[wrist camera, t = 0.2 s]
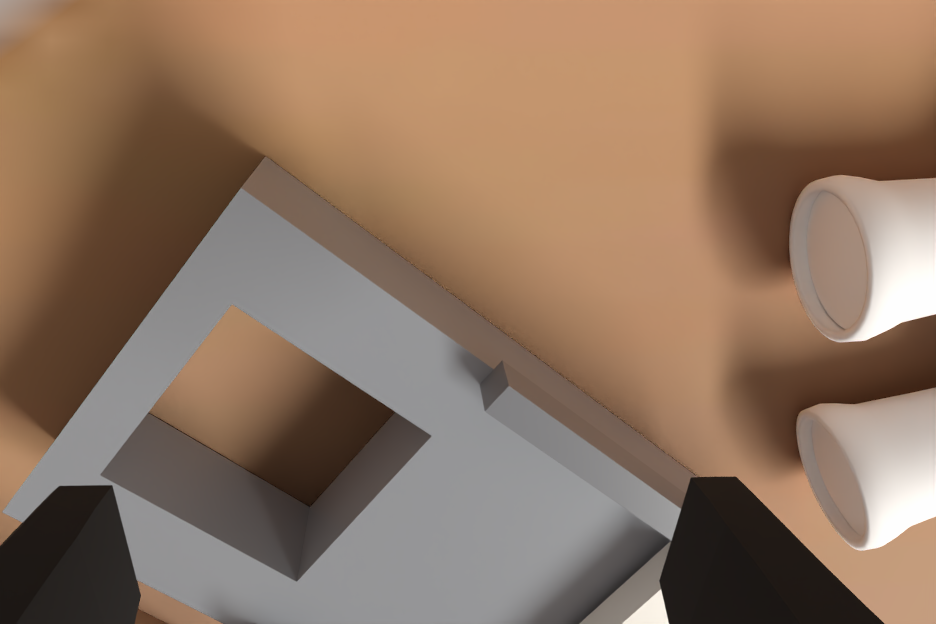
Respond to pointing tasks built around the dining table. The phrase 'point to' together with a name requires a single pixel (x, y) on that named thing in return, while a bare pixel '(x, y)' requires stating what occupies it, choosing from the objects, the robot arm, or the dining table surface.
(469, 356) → the housing
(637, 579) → the lid
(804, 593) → the robot arm
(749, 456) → the dining table surface
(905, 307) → the binoculars
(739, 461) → the dining table surface
